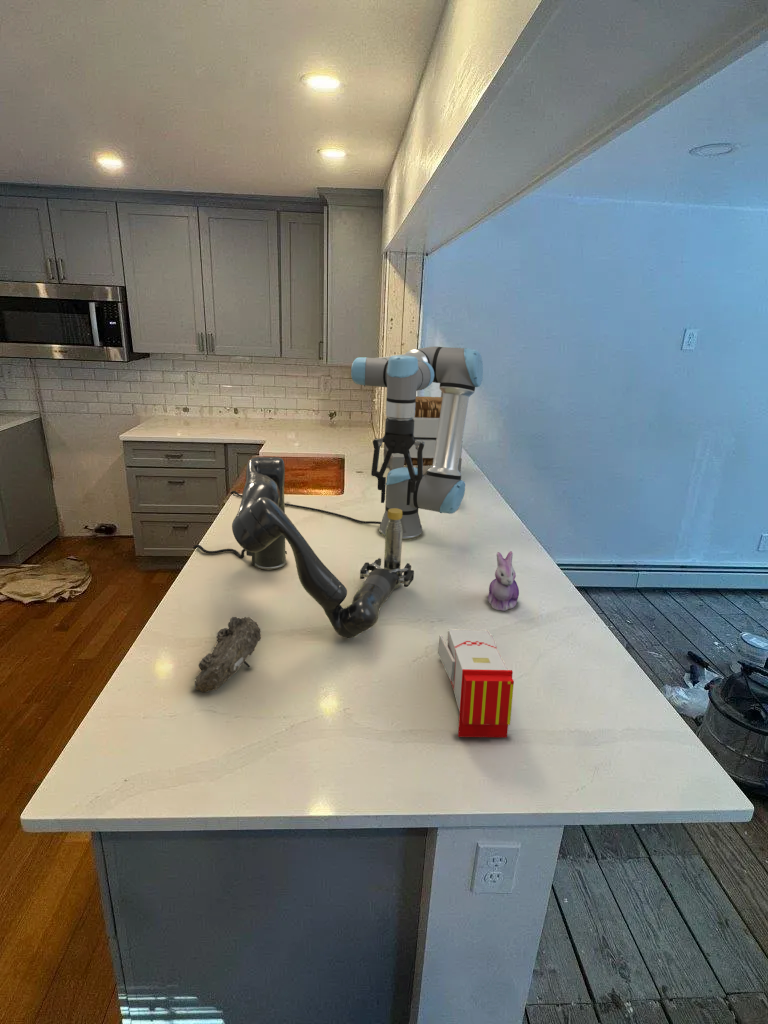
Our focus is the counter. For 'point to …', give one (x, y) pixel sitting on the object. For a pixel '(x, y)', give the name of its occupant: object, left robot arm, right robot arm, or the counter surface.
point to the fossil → (228, 653)
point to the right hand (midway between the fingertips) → (395, 502)
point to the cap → (394, 514)
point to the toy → (478, 682)
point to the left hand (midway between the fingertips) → (394, 563)
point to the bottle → (393, 546)
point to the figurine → (503, 584)
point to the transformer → (422, 433)
